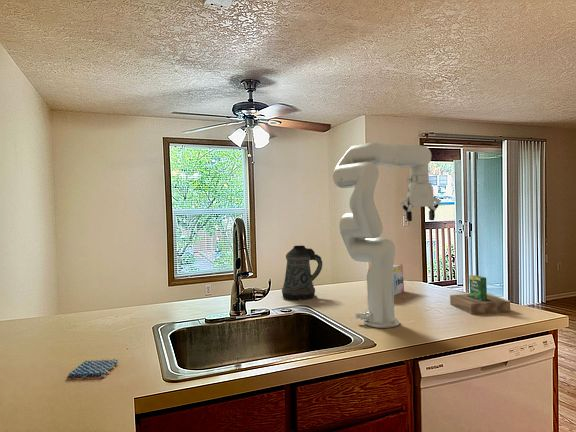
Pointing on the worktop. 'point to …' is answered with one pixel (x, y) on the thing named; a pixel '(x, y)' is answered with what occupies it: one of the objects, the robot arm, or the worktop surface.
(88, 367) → the woven mat
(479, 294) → the coffee box
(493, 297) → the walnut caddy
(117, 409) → the worktop surface
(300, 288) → the beer stein
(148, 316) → the worktop surface
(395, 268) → the gum box
